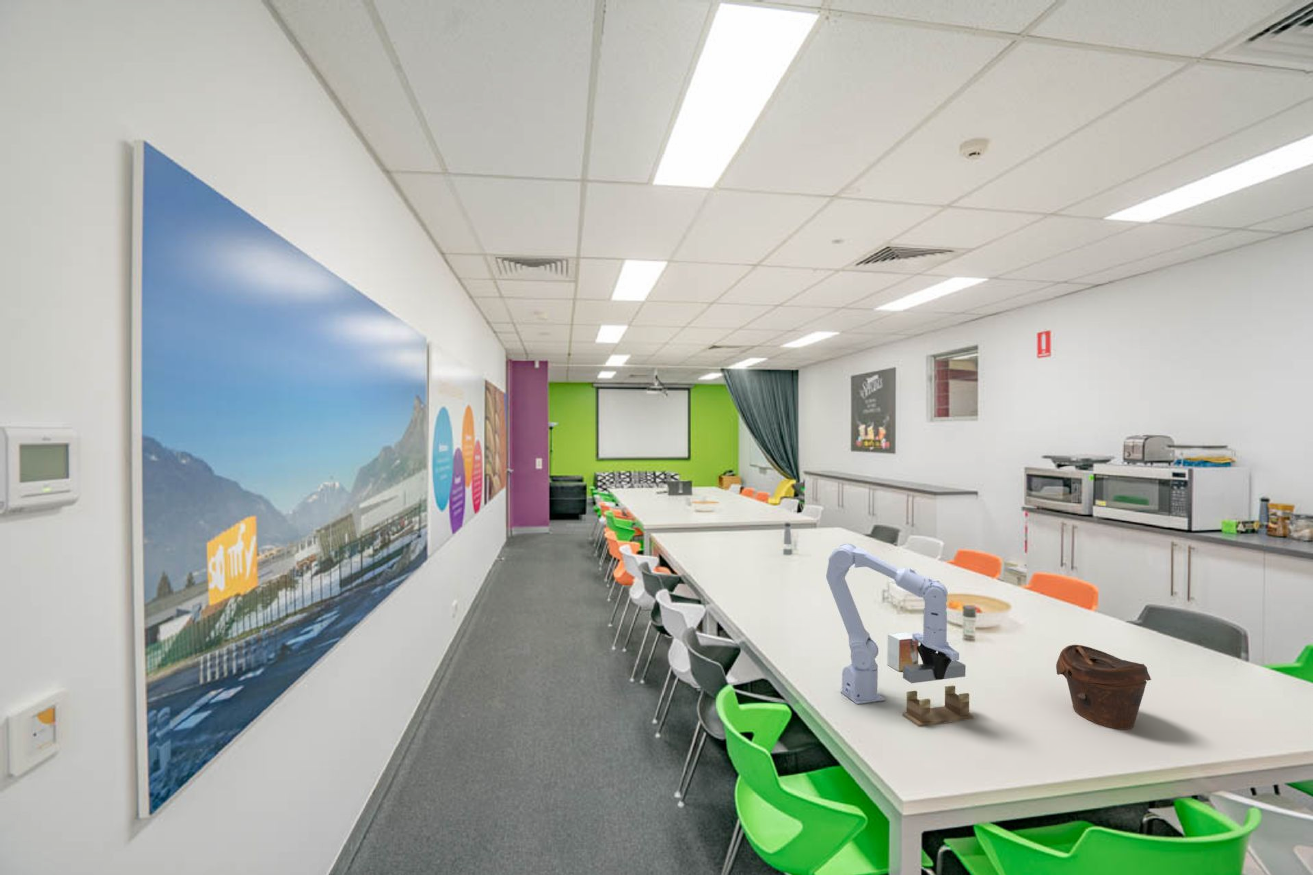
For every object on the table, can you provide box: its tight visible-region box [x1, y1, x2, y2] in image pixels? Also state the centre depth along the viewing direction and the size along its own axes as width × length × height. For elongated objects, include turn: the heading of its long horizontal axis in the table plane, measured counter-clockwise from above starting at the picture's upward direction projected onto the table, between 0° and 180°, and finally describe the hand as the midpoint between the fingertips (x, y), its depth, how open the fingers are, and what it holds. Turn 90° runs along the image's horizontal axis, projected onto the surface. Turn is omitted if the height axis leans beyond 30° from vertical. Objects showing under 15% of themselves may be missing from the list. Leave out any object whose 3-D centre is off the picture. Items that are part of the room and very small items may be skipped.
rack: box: [901, 684, 974, 728], centre depth 142 cm, size 18×6×6 cm, turn 106°
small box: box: [886, 631, 920, 672], centre depth 174 cm, size 8×6×10 cm
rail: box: [902, 660, 967, 684], centre depth 144 cm, size 18×3×3 cm, turn 105°
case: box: [1055, 644, 1152, 730], centre depth 144 cm, size 18×20×18 cm
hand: (934, 675), depth 144 cm, fingers closed on rail, 3 cm apart
